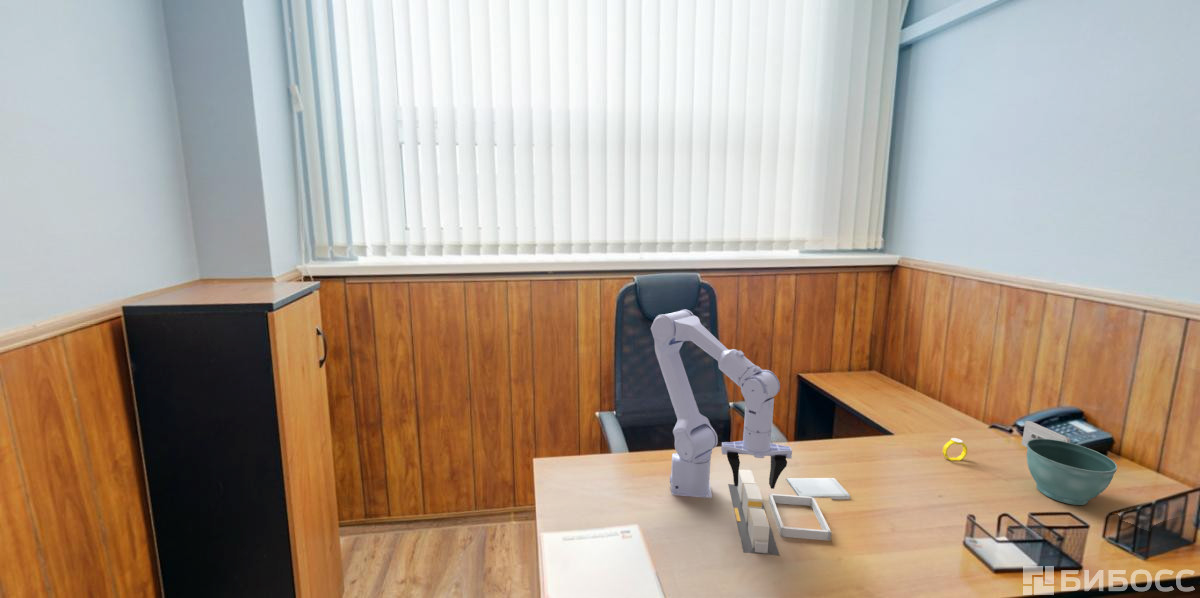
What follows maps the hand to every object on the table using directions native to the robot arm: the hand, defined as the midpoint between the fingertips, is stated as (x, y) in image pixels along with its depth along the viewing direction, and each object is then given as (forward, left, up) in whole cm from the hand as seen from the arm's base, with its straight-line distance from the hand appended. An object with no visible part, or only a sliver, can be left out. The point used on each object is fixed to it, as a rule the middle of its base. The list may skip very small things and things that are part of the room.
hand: (753, 485), depth 114 cm
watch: (+60, +35, -8) cm, 70 cm away
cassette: (+87, +42, -9) cm, 97 cm away
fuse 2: (0, -8, -8) cm, 11 cm away
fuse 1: (0, +8, -8) cm, 11 cm away
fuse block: (0, 0, -8) cm, 8 cm away
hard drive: (+18, +14, -9) cm, 24 cm away
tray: (+10, 0, -8) cm, 13 cm away
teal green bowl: (+77, +20, -8) cm, 80 cm away
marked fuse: (0, 0, -8) cm, 8 cm away
